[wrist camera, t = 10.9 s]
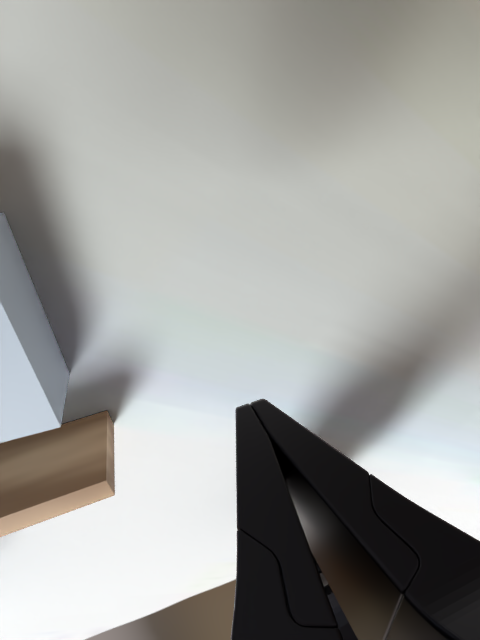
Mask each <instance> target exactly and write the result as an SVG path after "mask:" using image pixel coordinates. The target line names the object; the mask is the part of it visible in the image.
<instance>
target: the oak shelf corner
mask: <svg viewBox="0 0 480 640" xmlns="http://www.w3.org/2000/svg"><path fill="white" fill-rule="evenodd" d="M114 495H115V484H114V424H113V422H112V420H111V417H110V415H109V413H108V411H103V412H100V413H97V414H94V415H91V416H87V417H84V418H81V419H78V420H75V421H71V422H68V423H65V424H62V425H61V427H59V428H55V429H52V430H48V431H44V432H40V433H36V434H33V435H29V436H25V437H21V438H17V439H14V440H10V441H7V442H4V443H0V537H2V536H4V535H7V534H10V533H13V532H15V531H18V530H21V529H24V528H26V527H29V526H32V525H35V524H37V523H40V522H43V521H46V520H48V519H51V518H54V517H56V516H59V515H62V514H65V513H67V512H70V511H73V510H76V509H78V508H81V507H84V506H87V505H89V504H92V503H95V502H97V501H100V500H103V499H106V498H108V497H111V496H114Z"/></svg>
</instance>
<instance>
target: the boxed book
mask: <svg viewBox="0 0 480 640" xmlns="http://www.w3.org/2000/svg"><path fill="white" fill-rule="evenodd" d="M69 375H70V373H69V370H68V368H67V365H66V363H65V360H64V358H63V355H62V353H61V351H60V348H59V346H58V343H57V341H56V338H55V336H54V333H53V331H52V329H51V326H50V324H49V321H48V319H47V316H46V314H45V312H44V309H43V307H42V304H41V302H40V299H39V297H38V294H37V292H36V290H35V287H34V285H33V282H32V280H31V277H30V275H29V272H28V270H27V268H26V265H25V263H24V260H23V258H22V255H21V253H20V251H19V248H18V246H17V243H16V241H15V238H14V236H13V233H12V231H11V229H10V226H9V224H8V221H7V219H6V216H5V214H4V212H3V213H0V443H2V442H6V441H10V440H14V439H17V438H21V437H25V436H29V435H33V434H36V433H40V432H44V431H48V430H52V429H55V428H59V427H61V423H62V417H63V411H64V405H65V399H66V393H67V387H68V381H69Z"/></svg>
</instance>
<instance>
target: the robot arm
mask: <svg viewBox="0 0 480 640" xmlns="http://www.w3.org/2000/svg"><path fill="white" fill-rule="evenodd" d="M236 485H237V530H238V531H237V576H236V590H235V602H234V614H233V622H232V632H231V640H480V541H479V540H477V539H475V538H473V537H472V536H470V535H468V534H466V533H465V532H463V531H461V530H460V529H458V528H456V527H454V526H453V525H451V524H449V523H447V522H446V521H444V520H442V519H441V518H439V517H437V516H435V515H434V514H432V513H430V512H428V511H427V510H425V509H424V508H422V507H420V506H419V505H417V504H415V503H414V502H412V501H410V500H409V499H407V498H405V497H404V496H402V495H401V494H399V493H398V492H396V491H395V490H393V489H392V488H390V487H389V486H388V485H386V484H385V483H383V482H382V481H380V480H379V479H377V478H376V477H375V476H373V475H372V474H370V475H369V473H368V472H367V471H366V470H365V469H363V468H362V467H360V466H359V465H357V464H356V463H355V462H353V461H352V460H350V459H349V458H348V457H346V456H345V455H343V454H342V453H340V452H339V451H338V450H336V449H335V448H333V447H332V446H331V445H329V444H328V443H326V442H325V441H323V440H322V439H321V438H319V437H318V436H316V435H315V434H314V433H312V432H311V431H309V430H308V429H306V428H305V427H304V426H302V425H301V424H299V423H298V422H297V421H295V420H294V419H292V418H291V417H289V416H288V415H287V414H285V413H284V412H282V411H281V410H279V409H278V408H277V407H275V406H274V405H272V404H271V403H270V402H268V401H267V400H265V399H260V400H257V401H254V402H252V403H251V404H245V405H242V406H239V407H237V408H236Z"/></svg>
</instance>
